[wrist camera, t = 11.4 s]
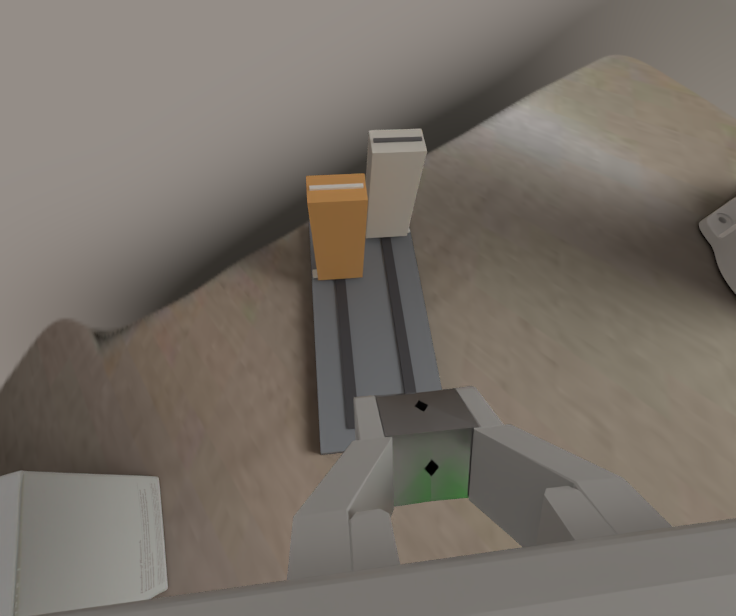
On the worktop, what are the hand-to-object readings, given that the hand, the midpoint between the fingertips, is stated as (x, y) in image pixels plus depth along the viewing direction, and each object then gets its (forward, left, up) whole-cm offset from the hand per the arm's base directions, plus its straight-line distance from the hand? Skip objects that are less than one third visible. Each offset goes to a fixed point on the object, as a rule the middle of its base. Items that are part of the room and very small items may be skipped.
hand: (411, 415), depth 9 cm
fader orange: (-10, -14, -19) cm, 26 cm away
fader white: (-16, -14, -19) cm, 29 cm away
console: (-9, -9, -21) cm, 24 cm away
